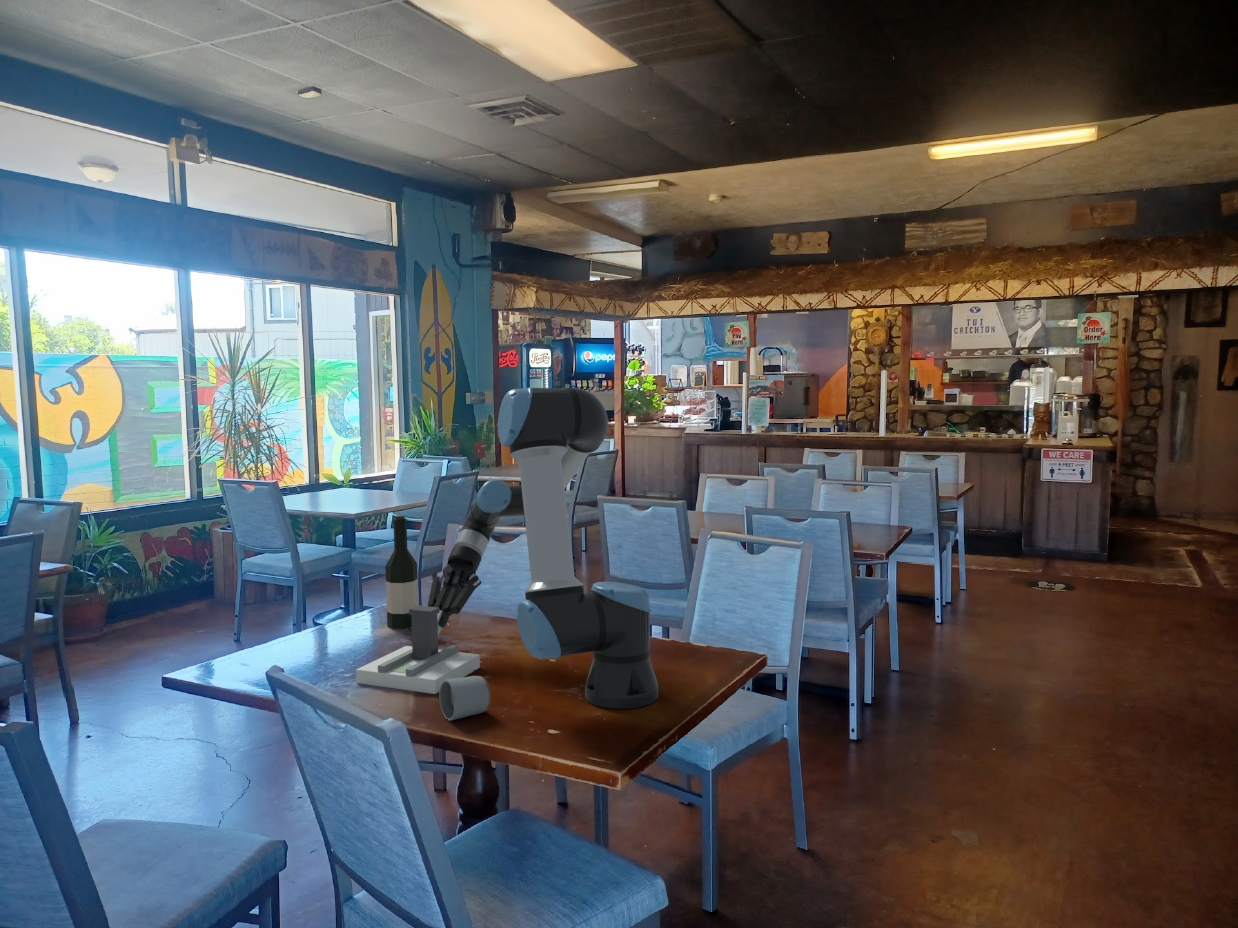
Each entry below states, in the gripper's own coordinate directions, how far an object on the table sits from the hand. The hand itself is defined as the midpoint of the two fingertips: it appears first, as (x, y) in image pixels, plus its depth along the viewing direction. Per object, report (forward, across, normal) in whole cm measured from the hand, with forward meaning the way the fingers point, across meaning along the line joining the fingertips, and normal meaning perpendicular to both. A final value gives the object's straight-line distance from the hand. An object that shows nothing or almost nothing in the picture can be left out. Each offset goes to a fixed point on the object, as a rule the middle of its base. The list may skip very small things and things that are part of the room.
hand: (430, 637), depth 189 cm
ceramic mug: (+20, -21, +10) cm, 31 cm away
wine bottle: (-14, +28, -25) cm, 40 cm away
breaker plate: (+9, 0, -1) cm, 9 cm away
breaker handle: (+5, 0, -1) cm, 5 cm away
